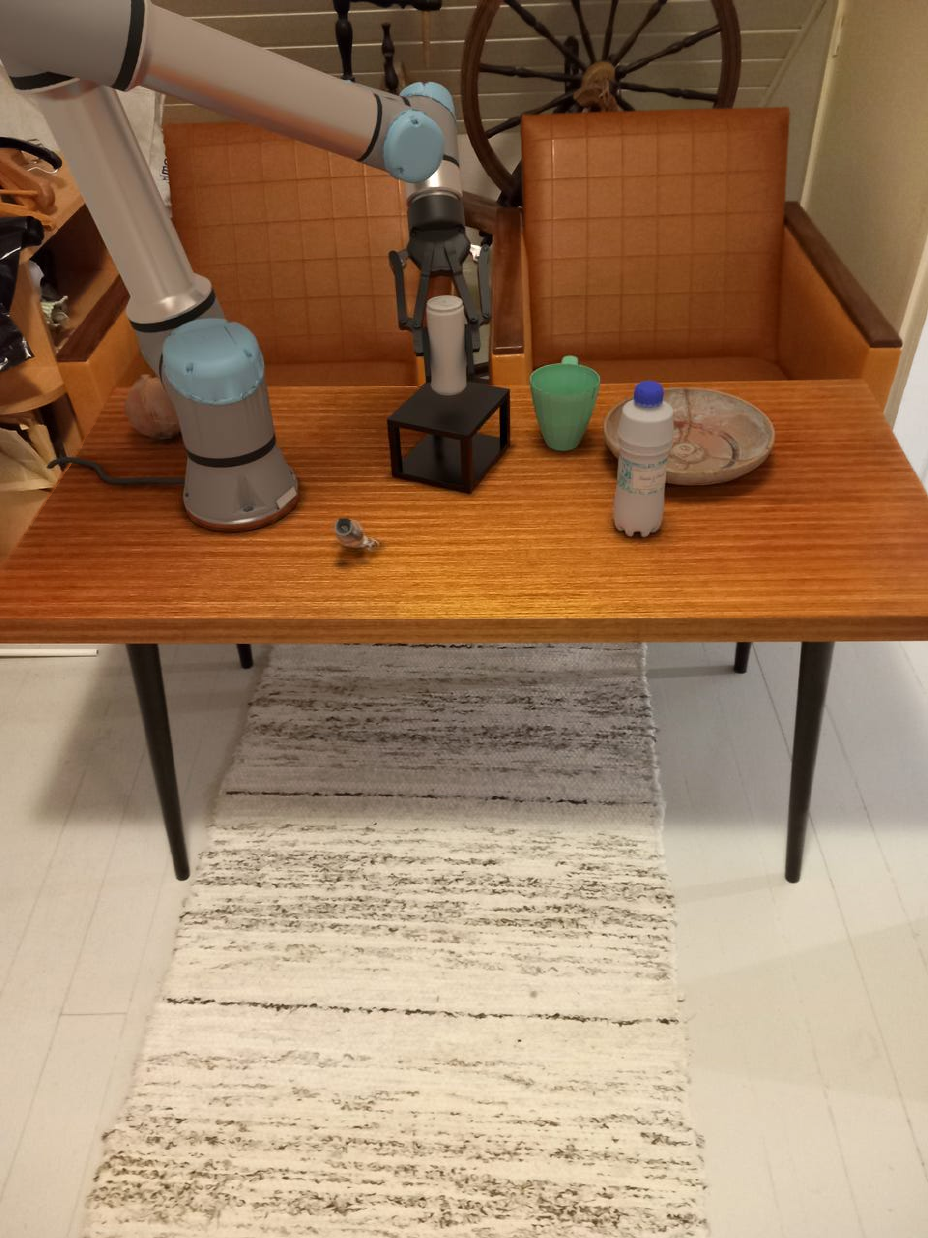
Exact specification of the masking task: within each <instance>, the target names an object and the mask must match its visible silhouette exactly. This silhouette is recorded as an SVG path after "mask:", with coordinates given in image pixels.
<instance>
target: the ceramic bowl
mask: <svg viewBox="0 0 928 1238" xmlns="http://www.w3.org/2000/svg"><path fill="white" fill-rule="evenodd" d="M663 390H664V396H663V401H664V402H666V403H668V404H669V405H670V406H671V407H672V409H673V418H674V438H673V440H672V441H673V445H672V447H671V449H670V450H669V455H668V464H667V472H666V481H665V484H670V485H671V484H672V485H677V486H708V485H714V484H722V483H725V482H729V481H732V480H735V479H737V478H740V477H743V476H744V475H745V476H746V475H747V474H748V473H750V472H752V471H754V470H755V469H757V468H758V467H760V466H761V465H762V464H763V463H764V462H765V461H766V460H767V459H768V457H769V455H770V454H771V452H772V450H773V447H774V446H775V440H776V431H775V427H774V424H773V422H772V421H771V420H770V419H771V418H769V416H767V415H766V413H765V412H763V411H762V410H761V409H759V407H757V406H755V405H754V404H753V403H751V402H749V401H747V400H745V399H743V398H741V397H738V396H736V395H733V394H731V393H727V392H724V391H720V390H715V389H710V388H705V387H695V386H694V387H692V386H691V387H690V386H689V387H687V386H676V387H675V386H674V387H663ZM631 400H634V394H632V395H630V396H628V397H626V398H624V399H622V400H621V401H619V402H617V403H616V404H615V405H613V406H612V407H611V409H610V410H609V411H608V412H607V414H606V415H605V417H604V420H603V424H602V434H603V435H602V436H603V439H604V442H605V444H606V446H607V448H608V449H609V451H610V452H611V453H612V455H613V456H614V457H615V458H616V459H617V460H619V449H620V448H619V446H618V443H617V439H618V434H617V430H618V427H619V423H620V418H621V414H622V409H623V407H624V405H625V404H626V403H627V402H629V401H631Z"/></svg>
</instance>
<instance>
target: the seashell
mask: <svg viewBox="0 0 928 1238" xmlns="http://www.w3.org/2000/svg"><path fill="white" fill-rule="evenodd" d="M324 522H326V523H327V521H324ZM333 527H334V532H335V534H336V539H337V541H338V542H339V543H340V544H341V545H342V546H344V547H346V548H366V549H367V550H368V551H371V548H372V546H376V545H377V546H378V547H380V542H379V541H377V540H376V539H374V538H372V537H368V536H366V535H365V531H364V527H363V525H362V524H361V523H360V522H359V521H357V520H355V519H352V518H351V519H350V518H348V517H347V518H346V517H340V518H338V519H336V521H335V522H334V523H333ZM368 538H369V539H368Z"/></svg>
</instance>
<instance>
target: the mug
mask: <svg viewBox="0 0 928 1238" xmlns="http://www.w3.org/2000/svg"><path fill="white" fill-rule="evenodd" d="M600 388H601V377H600V375H599V373H598V372H596V370H594V369H592V368H590V367H589V366H587V365H586V366H585V365H582V364H580V362H579V358H578V357H577V356H575V355H565V356H563V357H562V359H561V362H559V363H552V364H547V365H544V366H542V367H539V368H537V369H536V370H534V371H532V373H531V374H530V376H529V389H530V390H529V391H530V395H531V401H532V406H533V410H534V414H535V418H536V421H537V423H538V424H537V425H538V427H539V430H540V433H541V435H542V437H543V441H544V442H545V444H546V446H547V447H548V448H550V449H552V450H555V451H561V452H562V451H571V450H574V449H576V448H577V447H578V446H579V445H580V442H581V440H582V439H583V437H584V436H585V435H584V434H585V433H586V430H587V428H588V426H589V423H590V421H591V418H592V415H593V413H594V409H595V406H596V403H597V399H598V395H599V392H600Z"/></svg>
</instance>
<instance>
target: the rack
mask: <svg viewBox="0 0 928 1238" xmlns="http://www.w3.org/2000/svg"><path fill="white" fill-rule="evenodd" d="M497 411H498V412H499V413H498V415H499V417H498V418H499V419H498V420H499V421H498V423H499V425H498V427H499V436H494V435H489V434H483V433H478V432H479V431H480V430H481V428H482V427H483V426H484V425H485V424H486V423H487V421H489V420H490V418H491V417H492V416H493V415H494V414H495V413H496V412H497ZM386 425H387V426H386V427H387V436H388V447H389V457H390V459H389V460H390V469H391V477H392V478H396V479H400V480H405V481H409V482H412V483H413V482H414V483H418V484H422V485H427V486H430V487H431V486H432V487H437V488H441V489H444V490H448V491H449V490H450V491H453V492H458V493H462V494H468V495H471V494H472V492H473V491H474V490H475V489H476V488H477V487H478V485H479V484H480V483H481V481H483V479H484V478H485V477H486V476H487V475H488V473H489V472H490V471H491V470H492V468H494V466H495V465H496V464H497V462H498V461H499V460H500V459H501V458H502V456H503V455H504V454H505V453H506V451H508V449H509V448H510V447H511V389H510V388H507V387H501V386H496V385H491V384H485V383H479V382H473V381H470V380H466V387H465V389H464V390H463V391H462V392H461V393H459V394H456V395H447V396H446V395H441V394H438V393H436V392H435V391H434V390H433V389H432V387H431V383H426V381H425V382H424V383H423V384H422V385H420V387H419V388H418V389H416V390H415V392H414V393H412V395H410V396H409V398H407V399H406V400H405V401H404V402H403V403H402V404H401V405H400V406H398V407H397V409H396V410H395V411H394V412H392V414H390V416H388V417H387V418H386ZM400 429H402V430H408V431H411V432H417V433H423V434H426V435H424V436H423V438H422V439H421V440H420V441H419V442H418V443H417V444H416V445H415V446H414V447H413V448H412V449H411V450H410V451H409V453H407V454H406V455H405V456H404V458H403V454H402V453H403V452H402V441H401V440H402V439H401V431H400Z"/></svg>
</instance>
